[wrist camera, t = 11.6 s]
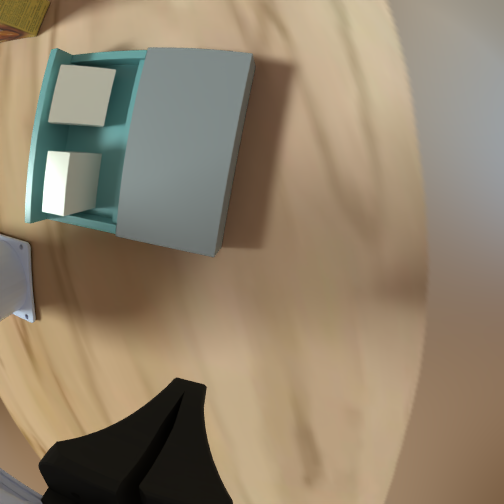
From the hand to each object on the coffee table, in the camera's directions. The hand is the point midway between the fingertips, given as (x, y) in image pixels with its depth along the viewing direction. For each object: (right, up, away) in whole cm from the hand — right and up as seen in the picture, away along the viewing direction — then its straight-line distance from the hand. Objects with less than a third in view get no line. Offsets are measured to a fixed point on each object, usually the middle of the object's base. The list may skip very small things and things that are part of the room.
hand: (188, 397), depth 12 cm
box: (-9, +15, +8) cm, 19 cm away
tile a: (-9, +11, +6) cm, 15 cm away
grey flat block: (-2, +13, +8) cm, 15 cm away
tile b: (-8, +17, +4) cm, 19 cm away
